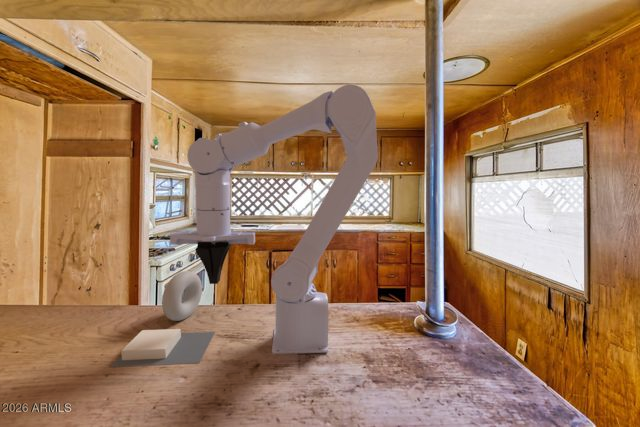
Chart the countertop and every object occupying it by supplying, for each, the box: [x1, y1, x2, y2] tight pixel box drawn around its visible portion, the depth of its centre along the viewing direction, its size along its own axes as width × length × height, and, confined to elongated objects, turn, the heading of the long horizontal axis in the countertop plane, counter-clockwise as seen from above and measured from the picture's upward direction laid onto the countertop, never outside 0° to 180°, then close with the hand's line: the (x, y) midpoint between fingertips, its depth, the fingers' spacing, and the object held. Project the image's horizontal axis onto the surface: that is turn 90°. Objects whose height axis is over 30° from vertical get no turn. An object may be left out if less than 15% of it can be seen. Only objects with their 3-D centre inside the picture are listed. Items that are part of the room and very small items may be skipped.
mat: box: [109, 331, 216, 368], centre depth 46 cm, size 13×9×1 cm
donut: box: [161, 270, 203, 322], centre depth 56 cm, size 10×4×10 cm, turn 168°
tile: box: [121, 328, 182, 360], centre depth 46 cm, size 2×6×6 cm
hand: (214, 282), depth 51 cm, fingers closed
